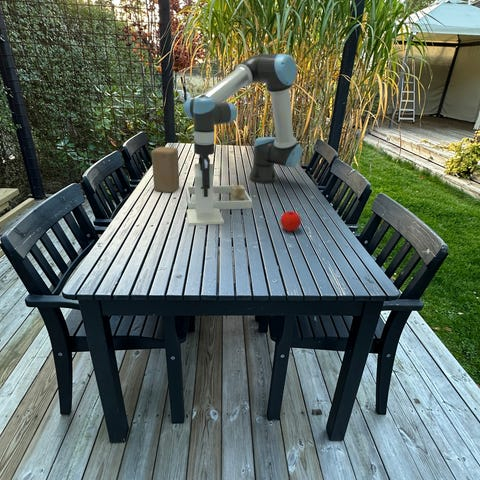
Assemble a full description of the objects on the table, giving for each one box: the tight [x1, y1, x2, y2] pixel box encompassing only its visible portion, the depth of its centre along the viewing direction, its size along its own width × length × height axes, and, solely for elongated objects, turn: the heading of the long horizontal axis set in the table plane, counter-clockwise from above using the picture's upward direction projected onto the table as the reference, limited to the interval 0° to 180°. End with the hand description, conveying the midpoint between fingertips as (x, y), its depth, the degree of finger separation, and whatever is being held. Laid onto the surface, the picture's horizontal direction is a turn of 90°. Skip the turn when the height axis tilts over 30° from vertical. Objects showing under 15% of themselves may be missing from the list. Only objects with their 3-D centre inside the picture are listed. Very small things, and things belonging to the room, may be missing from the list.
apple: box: [280, 211, 302, 232], centre depth 131 cm, size 8×8×7 cm
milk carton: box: [194, 163, 214, 213], centre depth 134 cm, size 7×7×19 cm
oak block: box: [229, 184, 246, 201], centre depth 153 cm, size 5×5×8 cm
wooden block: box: [150, 146, 180, 194], centre depth 164 cm, size 10×10×20 cm
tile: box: [186, 208, 225, 226], centre depth 140 cm, size 14×14×1 cm
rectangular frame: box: [185, 184, 253, 211], centre depth 157 cm, size 28×22×4 cm
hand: (204, 200), depth 136 cm, fingers closed on milk carton, 7 cm apart
